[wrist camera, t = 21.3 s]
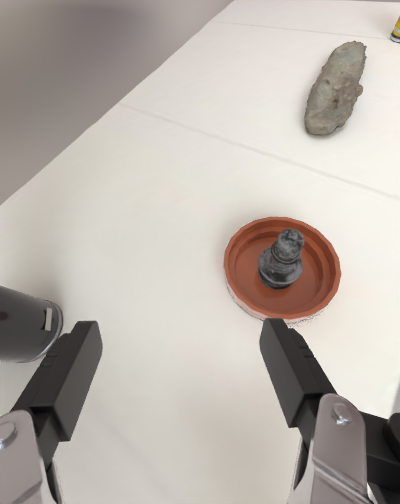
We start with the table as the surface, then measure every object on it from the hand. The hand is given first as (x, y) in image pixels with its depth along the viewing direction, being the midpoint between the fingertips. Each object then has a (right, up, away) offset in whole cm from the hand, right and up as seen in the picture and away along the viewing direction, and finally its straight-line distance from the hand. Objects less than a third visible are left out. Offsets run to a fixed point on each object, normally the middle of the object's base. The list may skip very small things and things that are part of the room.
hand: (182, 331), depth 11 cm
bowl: (+12, +1, +23) cm, 26 cm away
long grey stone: (+33, +42, +41) cm, 67 cm away
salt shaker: (+12, +1, +23) cm, 26 cm away
